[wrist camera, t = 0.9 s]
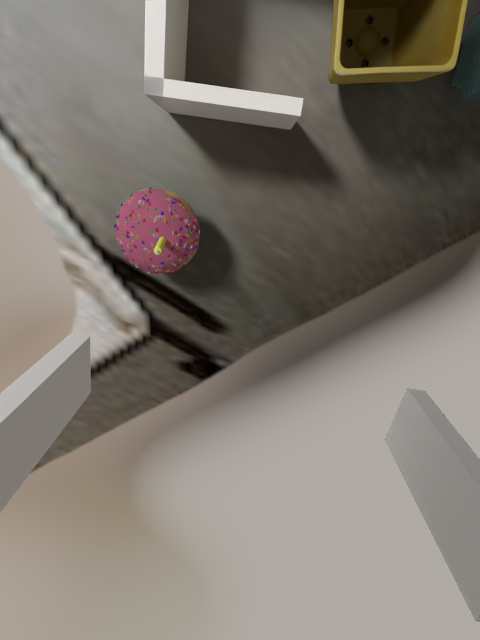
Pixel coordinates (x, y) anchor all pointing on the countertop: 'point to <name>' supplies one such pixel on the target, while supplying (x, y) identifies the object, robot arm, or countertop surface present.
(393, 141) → the countertop surface
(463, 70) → the rod
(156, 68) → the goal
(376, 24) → the flower pot
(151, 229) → the cupcake
